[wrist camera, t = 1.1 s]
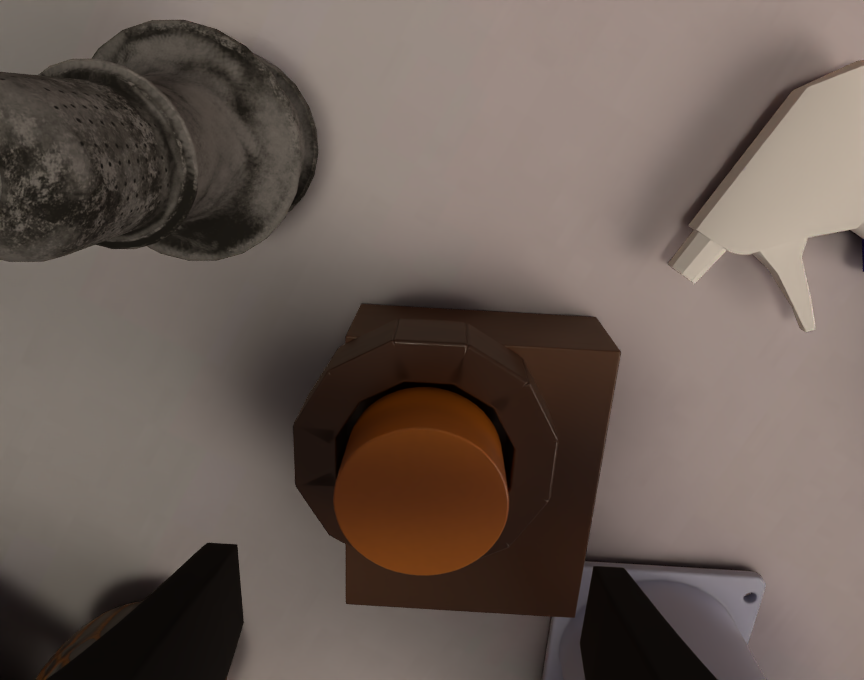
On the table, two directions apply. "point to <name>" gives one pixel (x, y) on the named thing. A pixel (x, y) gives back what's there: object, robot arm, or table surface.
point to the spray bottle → (789, 188)
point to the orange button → (422, 483)
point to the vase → (85, 639)
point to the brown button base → (518, 432)
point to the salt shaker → (152, 148)
